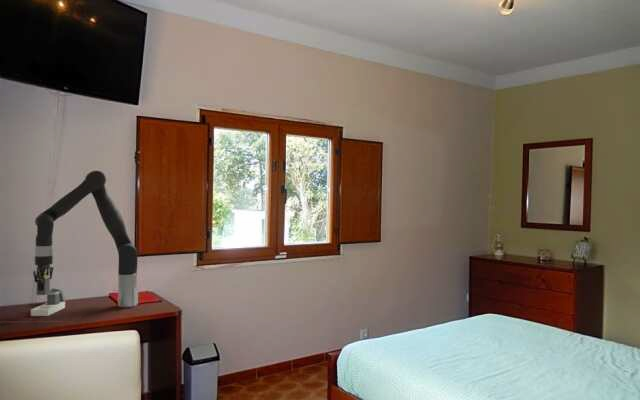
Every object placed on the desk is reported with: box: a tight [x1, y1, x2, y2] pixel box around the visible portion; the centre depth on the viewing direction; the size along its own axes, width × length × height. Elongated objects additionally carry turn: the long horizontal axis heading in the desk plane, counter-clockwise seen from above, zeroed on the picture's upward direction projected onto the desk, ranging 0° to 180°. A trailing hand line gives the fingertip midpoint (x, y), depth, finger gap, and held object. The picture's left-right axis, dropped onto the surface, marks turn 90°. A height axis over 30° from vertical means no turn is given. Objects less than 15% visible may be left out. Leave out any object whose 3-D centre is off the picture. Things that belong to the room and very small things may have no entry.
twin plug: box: [46, 291, 60, 305], centre depth 230 cm, size 4×4×9 cm
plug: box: [36, 275, 51, 296], centre depth 221 cm, size 4×4×9 cm
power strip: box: [30, 302, 66, 317], centre depth 225 cm, size 8×16×4 cm, turn 3°
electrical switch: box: [50, 287, 67, 305], centre depth 243 cm, size 9×5×9 cm, turn 57°
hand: (43, 289), depth 221 cm, fingers closed on plug, 4 cm apart
